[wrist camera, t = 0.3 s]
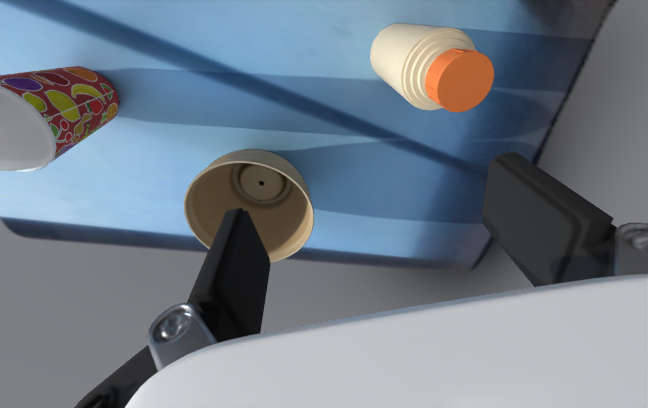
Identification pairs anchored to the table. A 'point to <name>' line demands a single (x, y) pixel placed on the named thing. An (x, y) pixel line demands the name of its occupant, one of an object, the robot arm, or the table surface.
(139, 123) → the table surface
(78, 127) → the smoothie
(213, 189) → the planter bowl
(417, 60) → the bottle
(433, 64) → the cap
